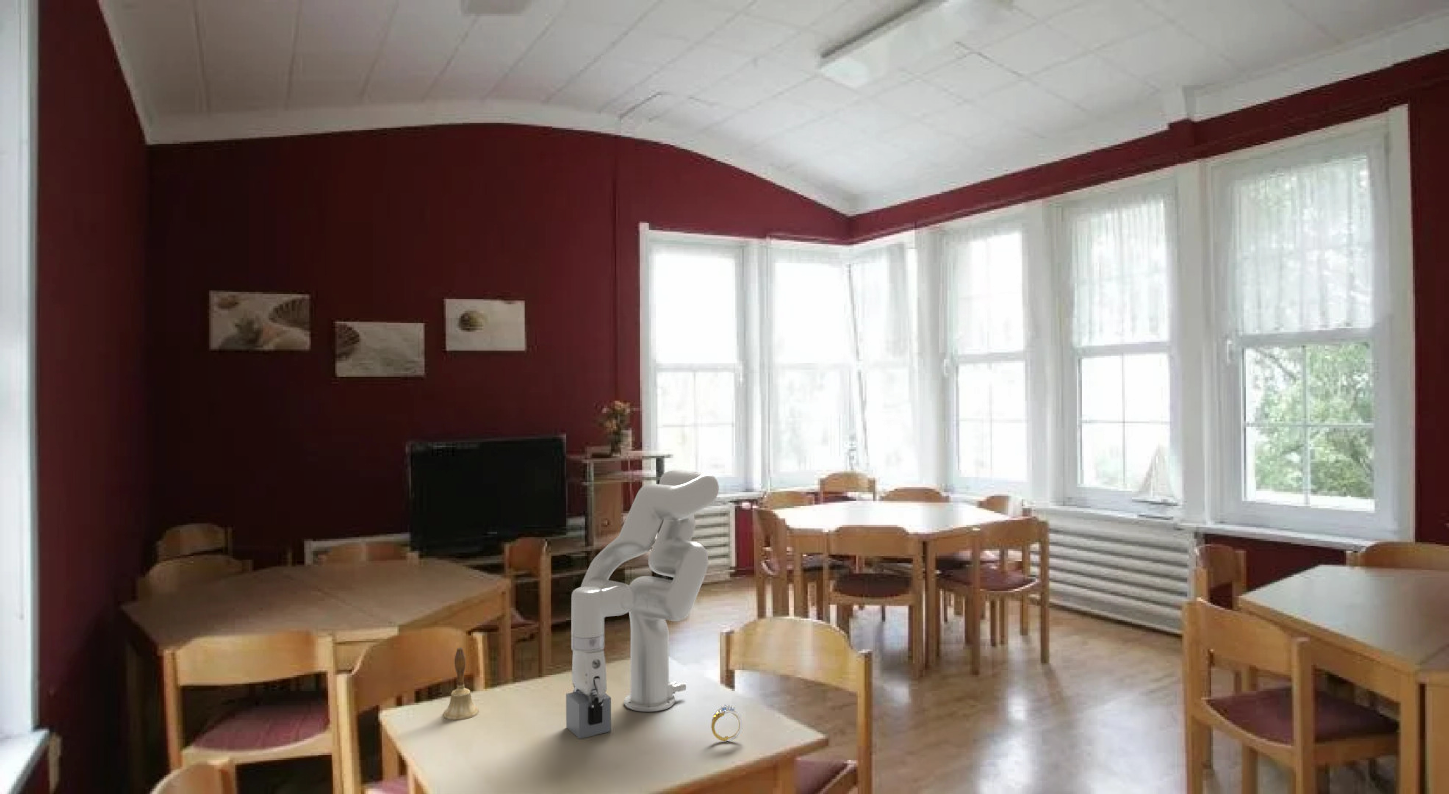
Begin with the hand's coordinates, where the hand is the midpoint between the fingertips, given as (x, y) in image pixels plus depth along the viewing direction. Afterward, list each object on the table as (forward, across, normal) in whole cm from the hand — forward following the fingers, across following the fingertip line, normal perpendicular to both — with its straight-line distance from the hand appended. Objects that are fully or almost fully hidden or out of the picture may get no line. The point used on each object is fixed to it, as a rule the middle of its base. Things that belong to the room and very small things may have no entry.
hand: (587, 717), depth 198 cm
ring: (+3, -22, -24) cm, 33 cm away
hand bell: (+3, +26, +22) cm, 34 cm away
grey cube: (+3, 0, 0) cm, 3 cm away
